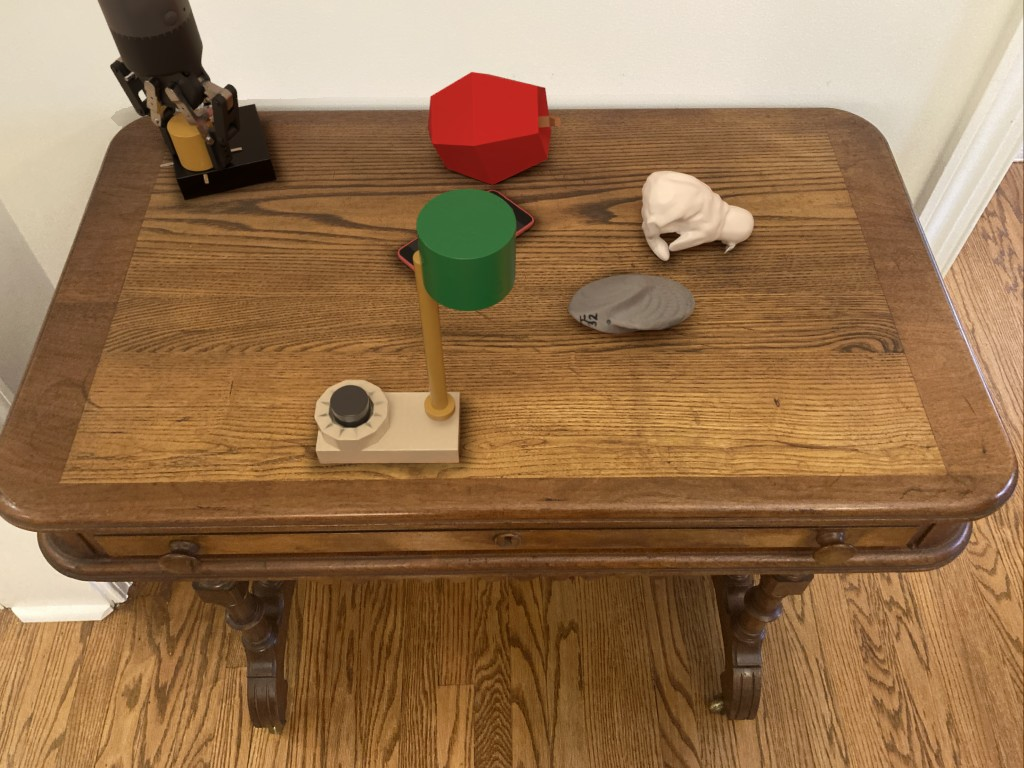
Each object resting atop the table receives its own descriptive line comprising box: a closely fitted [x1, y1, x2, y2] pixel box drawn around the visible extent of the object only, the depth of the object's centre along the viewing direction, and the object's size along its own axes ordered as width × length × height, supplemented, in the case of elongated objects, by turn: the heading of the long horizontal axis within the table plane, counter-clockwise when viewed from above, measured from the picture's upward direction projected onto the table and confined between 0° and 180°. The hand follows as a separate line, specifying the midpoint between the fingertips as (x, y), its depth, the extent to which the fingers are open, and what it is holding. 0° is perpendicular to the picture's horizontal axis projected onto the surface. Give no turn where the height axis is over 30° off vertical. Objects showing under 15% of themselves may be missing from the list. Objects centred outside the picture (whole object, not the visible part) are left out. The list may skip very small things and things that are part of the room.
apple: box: [427, 71, 562, 186], centre depth 92 cm, size 12×12×15 cm
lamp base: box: [313, 379, 462, 464], centre depth 74 cm, size 12×6×4 cm, turn 91°
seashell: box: [567, 273, 696, 335], centre depth 81 cm, size 12×6×10 cm
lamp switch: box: [330, 385, 371, 427], centre depth 72 cm, size 3×3×2 cm
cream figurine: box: [640, 170, 755, 262], centre depth 86 cm, size 6×8×12 cm
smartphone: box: [397, 189, 535, 273], centre depth 89 cm, size 7×1×14 cm
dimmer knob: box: [167, 109, 213, 171], centre depth 90 cm, size 4×4×5 cm
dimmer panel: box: [159, 103, 277, 201], centre depth 94 cm, size 11×12×3 cm
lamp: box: [413, 188, 517, 421], centre depth 64 cm, size 8×6×22 cm
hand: (201, 157), depth 92 cm, fingers open, 5 cm apart
